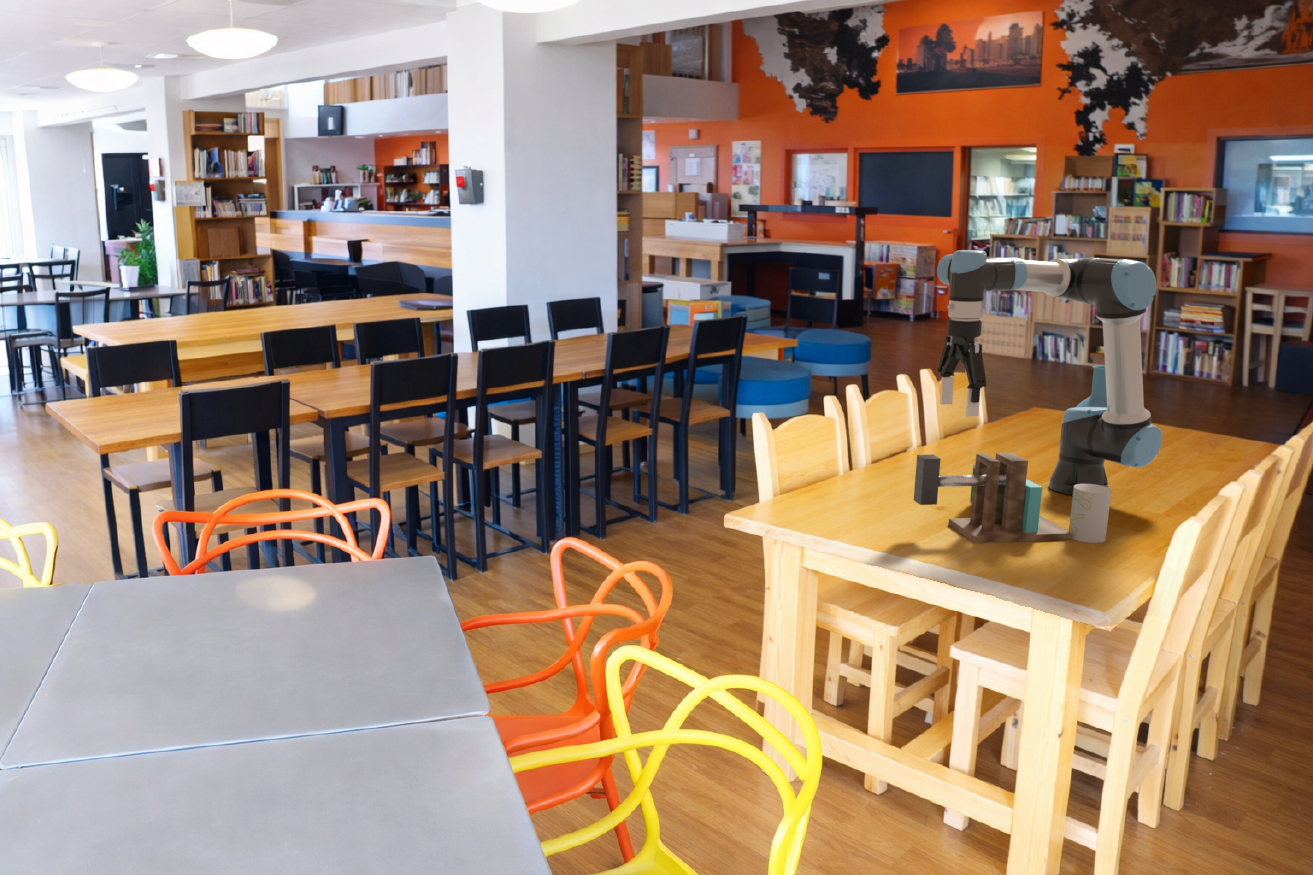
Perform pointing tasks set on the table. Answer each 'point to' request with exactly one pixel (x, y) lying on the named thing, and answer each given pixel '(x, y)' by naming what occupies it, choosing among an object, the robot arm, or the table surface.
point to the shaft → (941, 480)
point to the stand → (1002, 504)
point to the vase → (1097, 389)
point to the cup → (1089, 513)
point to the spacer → (1031, 507)
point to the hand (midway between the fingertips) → (958, 410)
